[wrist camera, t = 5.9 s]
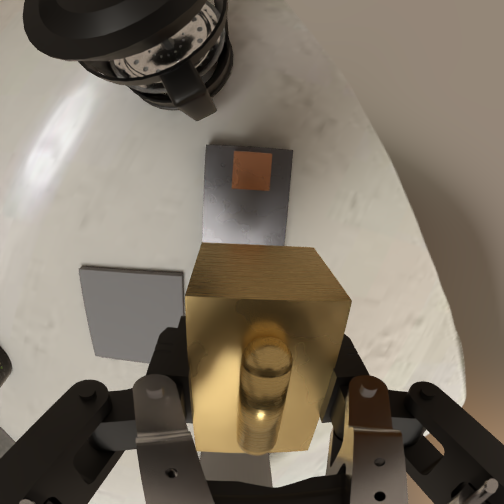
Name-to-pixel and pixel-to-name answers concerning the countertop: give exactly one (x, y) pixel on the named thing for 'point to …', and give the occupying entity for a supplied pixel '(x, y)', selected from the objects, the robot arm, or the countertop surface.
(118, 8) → the french press
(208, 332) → the lever cap
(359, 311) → the countertop surface
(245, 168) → the hand plane
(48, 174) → the countertop surface
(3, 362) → the supplement bottle
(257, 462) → the coffee mug
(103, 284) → the rubber mat
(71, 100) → the countertop surface
